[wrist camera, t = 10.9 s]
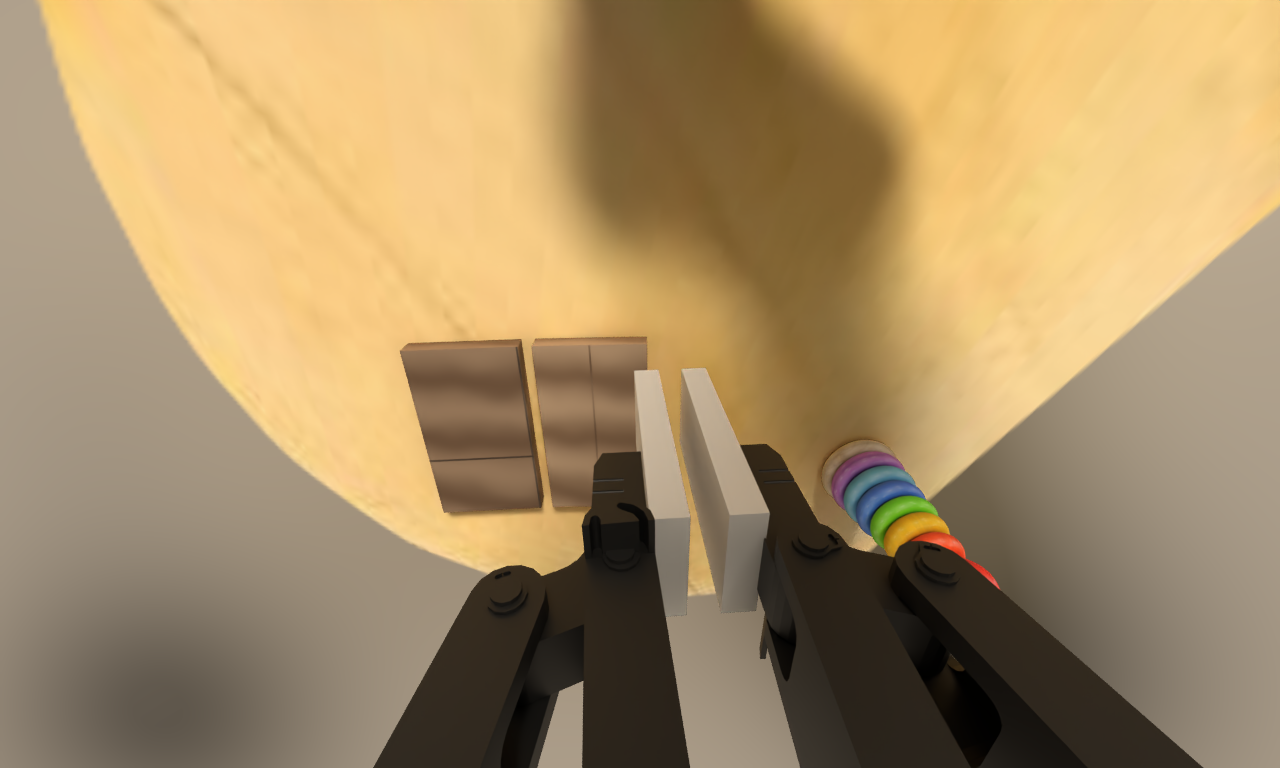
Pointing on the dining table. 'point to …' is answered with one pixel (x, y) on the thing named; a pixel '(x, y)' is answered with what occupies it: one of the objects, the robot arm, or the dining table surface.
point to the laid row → (476, 423)
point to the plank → (585, 407)
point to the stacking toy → (885, 499)
